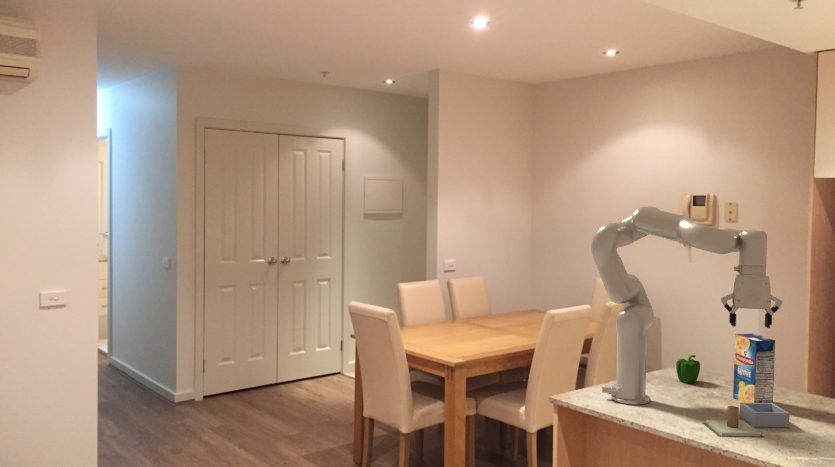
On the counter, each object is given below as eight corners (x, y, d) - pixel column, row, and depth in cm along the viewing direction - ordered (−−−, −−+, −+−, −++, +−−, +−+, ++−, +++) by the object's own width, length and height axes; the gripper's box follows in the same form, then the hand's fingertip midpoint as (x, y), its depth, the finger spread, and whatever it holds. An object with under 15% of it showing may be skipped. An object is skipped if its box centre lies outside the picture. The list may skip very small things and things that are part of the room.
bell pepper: (678, 384, 255) (679, 357, 254) (673, 378, 263) (674, 352, 262) (702, 385, 253) (703, 358, 253) (697, 379, 262) (698, 353, 261)
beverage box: (754, 407, 227) (756, 340, 226) (732, 398, 238) (735, 334, 237) (772, 406, 228) (775, 340, 227) (750, 397, 239) (753, 333, 238)
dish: (754, 429, 206) (755, 412, 206) (739, 418, 216) (740, 402, 216) (788, 429, 206) (789, 413, 206) (771, 418, 216) (772, 402, 216)
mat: (718, 438, 198) (718, 436, 198) (701, 424, 210) (701, 422, 210) (764, 439, 198) (764, 437, 198) (745, 425, 210) (745, 423, 210)
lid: (721, 436, 199) (722, 413, 198) (705, 423, 210) (706, 401, 209) (760, 436, 199) (761, 413, 198) (742, 423, 210) (743, 401, 209)
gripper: (724, 271, 211) (722, 327, 212) (787, 273, 207) (784, 330, 208) (719, 268, 218) (717, 323, 219) (779, 270, 215) (777, 325, 216)
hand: (750, 326), depth 214 cm, fingers open, 9 cm apart
